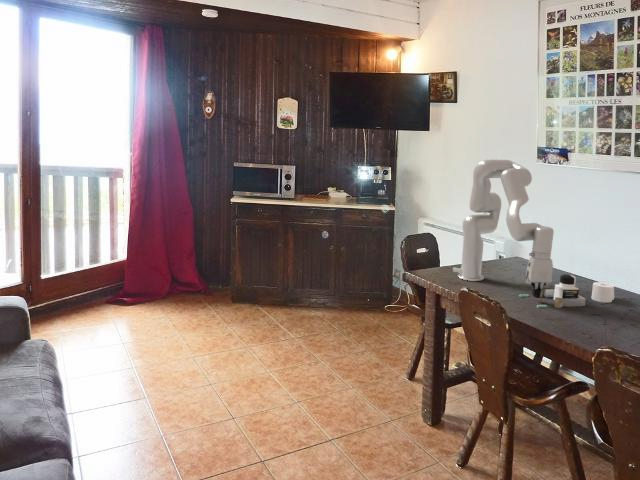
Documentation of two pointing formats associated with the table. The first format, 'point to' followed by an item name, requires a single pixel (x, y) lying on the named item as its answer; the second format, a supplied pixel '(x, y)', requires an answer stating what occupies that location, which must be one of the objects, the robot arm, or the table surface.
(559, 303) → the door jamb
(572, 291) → the medicine bottle
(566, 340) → the table surface
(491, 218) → the robot arm
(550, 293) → the index socket
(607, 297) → the toilet paper
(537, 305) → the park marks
